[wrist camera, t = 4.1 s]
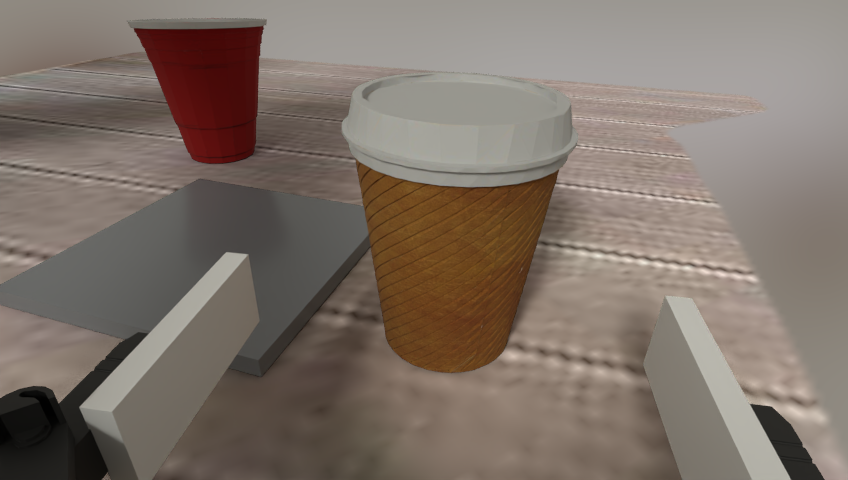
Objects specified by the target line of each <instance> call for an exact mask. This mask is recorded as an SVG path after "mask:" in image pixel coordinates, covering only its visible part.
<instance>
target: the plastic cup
mask: <svg viewBox="0 0 848 480" xmlns="http://www.w3.org/2000/svg"><path fill="white" fill-rule="evenodd" d="M266 21H267V20H266V19H247V18H246V19H245V18H243V19H242V18H239V19H238V18H201V19H200V18H199V19H197V18H193V19H150V20H133V21H127V22H128V24H129V26H130V27H131V28H134V31H135V32H136V34H137V36H138V37H139V39H140V41H141V43H142V46H143V47H144V48H145V51H146V53H147V56H148V59H149V60H150V62H151V63H152V66H153V68H154V71H155V73H156V76H157V78H158V81H159V83H160V86H161V88H162V91H163V93H164V96H165V98H166V101H167V103H168V106H169V108H170V110H171V113H172V115H173V118H174V120H175V122H176V124H177V125H178V127H179V130H180V133H181V135H182V138H183V140H184V143H185V145H186V148H187V150H188V152H189V153H190V155H191V157H192V159H193V160H196V161H198V162H203V163H227V162H233V161H238V160H241V159H244V158H247V157H248V156H250V155H252V154H253V152H254V146H255V144H256V117H257V109H258V75H259V56H260V44H261V39H262V33H263V29H264V28H263V26H264V25H266Z"/></svg>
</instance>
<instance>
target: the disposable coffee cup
mask: <svg viewBox="0 0 848 480" xmlns="http://www.w3.org/2000/svg"><path fill="white" fill-rule="evenodd" d="M342 135H343V137H344V138H345V139H346V141H347V142H348V143H349V148H350V152H351V154H352V155H353V156H354V157H355V159H356V165H357V172H358V177H359V182H360V187H361V193H362V198H363V205H364V210H365V217H366V222H367V228H368V233H369V240H370V245H371V252H372V257H373V264H374V269H375V275H376V280H377V286H378V292H379V298H380V303H381V309H382V316H383V321H384V327H385V334H386V338H387V341H388V343H389V345H390V346H391V348H392V349H393V350H394V352H395V353H397V354H398V355H399V356H400V357H401V358H402V359H404V360H406V361H407V362H409V363H411V364H413V365H415V366H418V367H421V368H424V369H427V370H432V371H437V372H447V373H453V372H465V371H470V370H475V369H477V368H480V367H482V366H484V365H487V364H489V363H490V362H492V361H493V360H495V359H496V358H497V357H498V356H499V355H500V354H501V353H502V352H503V350H504V348H505V346H506V344H507V340H508V336H509V333H510V330H511V326H512V323H513V320H514V317H515V314H516V311H517V307H518V304H519V301H520V297H521V294H522V291H523V287H524V284H525V281H526V278H527V274H528V271H529V268H530V264H531V261H532V258H533V254H534V251H535V249H536V246H537V241H538V238H539V236H540V232H541V228H542V225H543V223H544V219H545V215H546V212H547V209H548V206H549V201H550V198H551V195H552V192H553V189H554V186H555V183H556V180H557V175H558V172H559V169H560V168H561V167H563V165H564V164H565V162H566V161H567V158H568V155H569V154H570V153H571V152H572V151H573V149H574V148H575V147H576V145H577V142H578V133H577V132H576V130H575V128H574V127H573V126H572V114H571V102H570V100H569V98H568V97H567V96H566V95H564V94H563V93H561V92H559V91H557V90H555V89H553V88H550V87H548V86H545V85H542V84H538V83H534V82H530V81H526V80H521V79H516V78H511V77H504V76H496V75H487V74H477V73H455V72H426V73H412V74H401V75H394V76H388V77H383V78H378V79H375V80H372V81H369V82H367V83H364V84H361V85H359V86H358V87H357V88H355V90H354V91H353V93H352V97H351V103H350V109H349V114H348V116H347V117H346V118H345V119H344V121H343V122H342Z"/></svg>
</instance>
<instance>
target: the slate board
mask: <svg viewBox="0 0 848 480" xmlns="http://www.w3.org/2000/svg"><path fill="white" fill-rule="evenodd" d="M370 246H371V245H370V240H369V233H368V228H367V222H366V217H365V210H364V206H360V205H354V204H348V203H342V202H336V201H330V200H324V199H318V198H312V197H306V196H300V195H294V194H288V193H282V192H276V191H270V190H264V189H258V188H252V187H246V186H240V185H234V184H228V183H222V182H216V181H210V180H204V179H198V180H196V181H194V182H192V183H190V184H188V185H187V186H185V187H183V188H181V189H179V190H177V191H175V192H173V193H172V194H170V195H168V196H166V197H164V198H162V199H160V200H158V201H157V202H155V203H153V204H151V205H149V206H147V207H145V208H143V209H141V210H140V211H138V212H136V213H134V214H132V215H130V216H128V217H126V218H125V219H123V220H121V221H119V222H117V223H115V224H113V225H111V226H110V227H108V228H106V229H104V230H102V231H100V232H98V233H96V234H94V235H93V236H91V237H89V238H87V239H85V240H83V241H81V242H79V243H78V244H76V245H74V246H72V247H70V248H68V249H66V250H64V251H63V252H61V253H59V254H57V255H55V256H53V257H51V258H49V259H48V260H46V261H44V262H42V263H40V264H38V265H36V266H34V267H32V268H31V269H29V270H27V271H25V272H23V273H21V274H19V275H17V276H16V277H14V278H12V279H10V280H8V281H6V282H4V283H2V284H1V285H0V305H3V306H7V307H10V308H14V309H17V310H21V311H25V312H28V313H32V314H36V315H39V316H43V317H46V318H50V319H54V320H57V321H61V322H64V323H68V324H72V325H75V326H79V327H83V328H86V329H90V330H93V331H97V332H101V333H104V334H108V335H112V336H115V337H119V338H122V339H128V338H129V337H131V336H133V335H134V334H136V333H138V332H142V333H150V332H151V331H152V330H153V329H154V328H155V327H156V326H157V325H158V324H159V323H160V321H161V320H162V319H163V318H164V317H165V316H166V315H167V314H168V313H169V312H170V311H171V310H172V309H173V308H174V307H175V306H176V305H177V304H178V303H179V301H180V300H181V299H182V298H183V297H184V296H185V295H186V294H187V293H188V292H189V291H190V290H191V289H192V288H193V287H194V286H195V285H196V284H197V282H198V281H199V280H200V279H201V278H202V277H203V276H204V275H205V274H206V273H207V272H208V271H209V270H210V269H211V268H212V267H213V266H214V265H215V263H216V262H217V261H218V260H219V259H220V258H221V257H222V256H223V255H224V254H225V253H226V252H230V253H240V254H248V255H249V261H250V267H251V273H252V279H253V285H254V290H255V296H256V302H257V308H258V314H259V320H260V321H259V323H258V324H257V325H256V327H255V328H254V330H253V331H252V333H251V334H250V336H249V337H248V339H247V340H246V342H245V343H244V345H243V346H242V348H241V349H240V351H239V352H238V354H237V355H236V356H235V358H234V359H233V361H232V362H231V364H230V365H229V367H228V368H231V369H235V370H238V371H242V372H245V373H249V374H253V375H256V376H260V377H262V375H263V374H264V373H265V372H266V371H267V369H268V368H269V367H270V366H271V365H272V363H273V362H274V361H275V360H276V359H277V357H278V356H279V355H280V354H281V353H282V351H283V350H284V349H285V348H286V347H287V345H288V344H289V343H290V342H291V341H292V340H293V338H294V337H295V336H296V335H297V334H298V332H299V331H300V330H301V329H302V328H303V326H304V325H305V324H306V323H307V322H308V320H309V319H310V318H311V317H312V316H313V314H314V313H315V312H316V311H317V310H318V308H319V307H320V306H321V305H322V304H323V302H324V301H325V300H326V299H327V298H328V296H329V295H330V294H331V293H332V292H333V290H334V289H335V288H336V287H337V286H338V284H339V283H340V282H341V281H342V280H343V278H344V277H345V276H346V275H347V274H348V272H349V271H350V270H351V269H352V268H353V266H354V265H355V264H356V263H357V262H358V260H359V259H360V258H361V257H362V256H363V254H364V253H365V252H366V251H367V250H368V248H369V247H370Z"/></svg>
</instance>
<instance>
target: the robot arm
mask: <svg viewBox="0 0 848 480" xmlns="http://www.w3.org/2000/svg"><path fill="white" fill-rule="evenodd" d="M259 321H260V320H259V314H258V308H257V302H256V296H255V290H254V285H253V279H252V273H251V267H250V261H249V255H248V254H240V253H230V252H226V253H225V254H224V255H223V256H222V257H221V258H220V259H219V260H218V261H217V262H216V263H215V265H214V266H213V267H212V268H211V269H210V270H209V271H208V272H207V273H206V274H205V275H204V276H203V277H202V278H201V279H200V280H199V281H198V282H197V284H196V285H195V286H194V287H193V288H192V289H191V290H190V291H189V292H188V293H187V294H186V295H185V296H184V297H183V298H182V299H181V300H180V301H179V303H178V304H177V305H176V306H175V307H174V308H173V309H172V310H171V311H170V312H169V313H168V314H167V315H166V316H165V317H164V318H163V319H162V320H161V321H160V323H159V324H158V325H157V326H156V327H155V328H154V329H153V330H152V331H151V332H150V333H142V332H138V333H136V334H134V335H133V336H131V337H129V338H128V339H126V340H124V341H122V342H121V343H119V344H118V345H117V346H116V347H115V348H114V349H113V350H112V351H111V352H110V353H109V354H108V355H107V356H106V359H105V360H102V361H101V362H100V363H99V364H98V365H97V366H96V367H95V369H94V371H91V372H90V373H89V374H88V375H87V376H86V377H85V378H84V379H83V380H82V381H81V382H80V383H79V384H78V385H77V386H76V387H75V388H74V389H73V390H72V391H71V392H70V393H69V394H68V395H67V396H66V397H65V398H64V399H63V400H62V401H61V402H60V403H58V401H57V399H56V397H55V395H54V393H53V391H52V390H51V389H49V388H47V387H43V386H32V387H27V388H22V389H19V390H16V391H14V392H11V393H9V394H7V395H5V396H3V397H2V398H0V480H102V479H103V477H104V476H105V475H106V473H107V472H108V474H109V476H110V479H111V480H152V479H153V478H154V476H155V475H156V473H157V472H158V470H159V469H160V467H161V466H162V464H163V463H164V461H165V460H166V458H167V457H168V455H169V454H170V453H171V451H172V450H173V448H174V447H175V445H176V444H177V442H178V441H179V439H180V438H181V436H182V435H183V433H184V432H185V430H186V429H187V427H188V426H189V424H190V423H191V421H192V420H193V419H194V417H195V416H196V414H197V413H198V411H199V410H200V408H201V407H202V405H203V404H204V402H205V401H206V399H207V398H208V396H209V395H210V393H211V392H212V390H213V389H214V388H215V386H216V385H217V383H218V382H219V380H220V379H221V377H222V376H223V374H224V373H225V371H226V370H227V368H228V367H229V365H230V364H231V362H232V361H233V359H234V358H235V356H236V355H237V354H238V352H239V351H240V349H241V348H242V346H243V345H244V343H245V342H246V340H247V339H248V337H249V336H250V334H251V333H252V331H253V330H254V328H255V327H256V325H257V324H258V323H259ZM643 366H644V369H645V372H646V375H647V378H648V381H649V384H650V387H651V390H652V393H653V396H654V399H655V402H656V405H657V407H658V410H659V413H660V416H661V419H662V422H663V425H664V428H665V431H666V434H667V437H668V440H669V443H670V446H671V449H672V452H673V455H674V458H675V461H676V464H677V467H678V470H679V472H680V475H681V478H682V480H824V478H823V476H822V475H821V473H820V472H819V470H818V468H817V467H816V465H815V464H813V463H812V458H811V457H810V455H809V454H808V452H807V450H806V449H805V448H803V446H802V442H801V440H800V439H799V437H798V436H797V434H796V432H795V431H794V429H793V427H792V426H791V424H790V423H789V422H787V421H786V420H785V419H784V418H783V417H782V416H781V415H780V414H779V413H778V412H777V411H776V410H775V409H774V408H772V407H770V406H762V405H753V404H749V402H748V400H747V398H746V396H745V395H744V393H743V391H742V389H741V387H740V385H739V384H738V382H737V380H736V378H735V376H734V374H733V373H732V371H731V369H730V367H729V365H728V364H727V362H726V360H725V358H724V356H723V354H722V353H721V351H720V349H719V347H718V345H717V343H716V342H715V340H714V338H713V336H712V334H711V332H710V331H709V329H708V327H707V325H706V323H705V322H704V320H703V318H702V316H701V314H700V312H699V311H698V309H697V307H696V305H695V303H694V301H693V300H692V298H684V297H674V296H665V297H664V300H663V303H662V307H661V310H660V313H659V316H658V319H657V322H656V325H655V328H654V332H653V335H652V338H651V341H650V344H649V347H648V350H647V353H646V356H645V360H644V363H643Z"/></svg>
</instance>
